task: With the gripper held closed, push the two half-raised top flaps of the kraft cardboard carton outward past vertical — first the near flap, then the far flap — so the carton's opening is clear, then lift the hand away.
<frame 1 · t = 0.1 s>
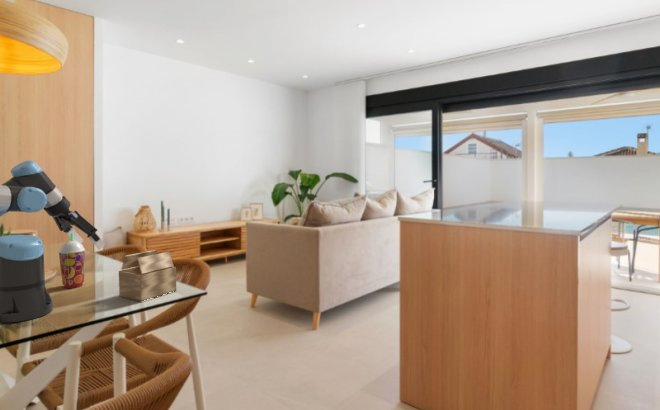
hand: (91, 244, 149), 15 cm above the table, tool tilted 35°, fingers open, 13 cm apart
near flap: (156, 262, 136), point 12 cm above the table, hinge at -25.0°
smoothie: (73, 286, 148), on the table
carton: (148, 293, 139), on the table
far flap: (139, 259, 141), point 12 cm above the table, hinge at -25.0°
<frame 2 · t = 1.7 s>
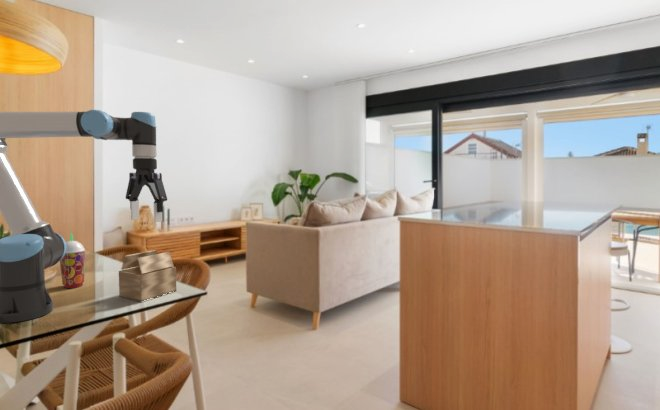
hand: (146, 220, 137), 26 cm above the table, tool pointing down, fingers open, 11 cm apart
nothing on the table moved.
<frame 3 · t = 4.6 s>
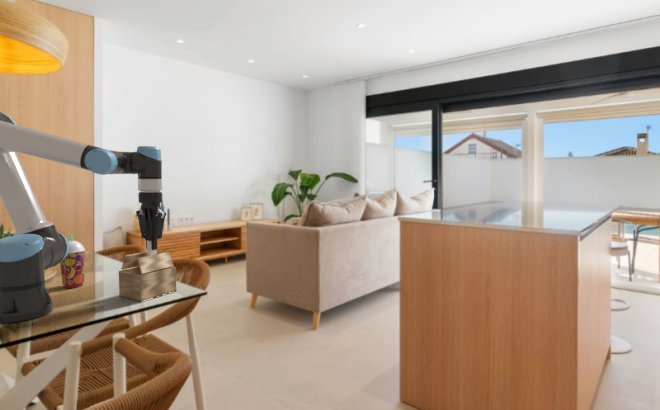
hand: (152, 258, 137), 13 cm above the table, tool pointing down, fingers closed
near flap: (156, 262, 136), point 12 cm above the table, hinge at -24.9°, touching gripper
everything else where it was.
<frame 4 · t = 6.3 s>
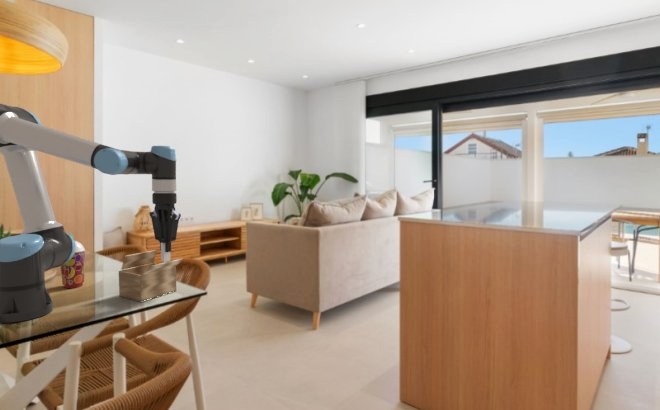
hand: (165, 261, 134), 13 cm above the table, tool pointing down, fingers closed
near flap: (163, 266, 135), point 11 cm above the table, hinge at 51.8°, touching gripper
everything else where it was.
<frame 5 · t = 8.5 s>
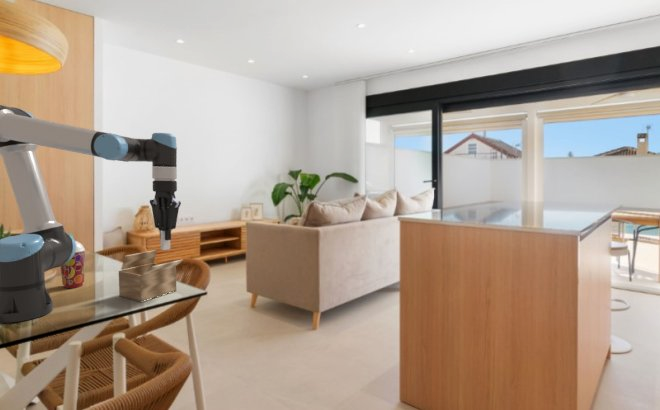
hand: (165, 249, 133), 17 cm above the table, tool pointing down, fingers closed
near flap: (163, 266, 135), point 11 cm above the table, hinge at 55.2°
everything else where it was.
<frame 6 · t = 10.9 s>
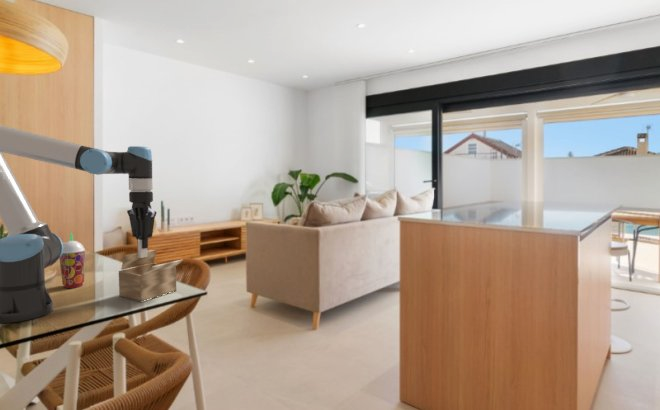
hand: (142, 257, 140), 13 cm above the table, tool pointing down, fingers closed
far flap: (139, 259, 141), point 12 cm above the table, hinge at -22.3°, touching gripper
everything else where it was.
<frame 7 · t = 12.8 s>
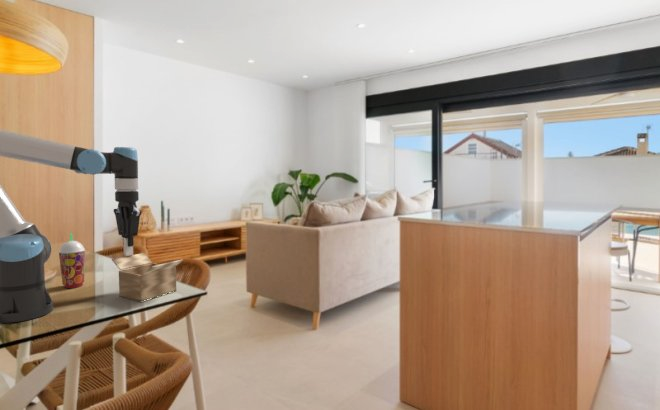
hand: (128, 254, 143), 13 cm above the table, tool pointing down, fingers closed
far flap: (132, 261, 143), point 11 cm above the table, hinge at 55.4°
everything else where it was.
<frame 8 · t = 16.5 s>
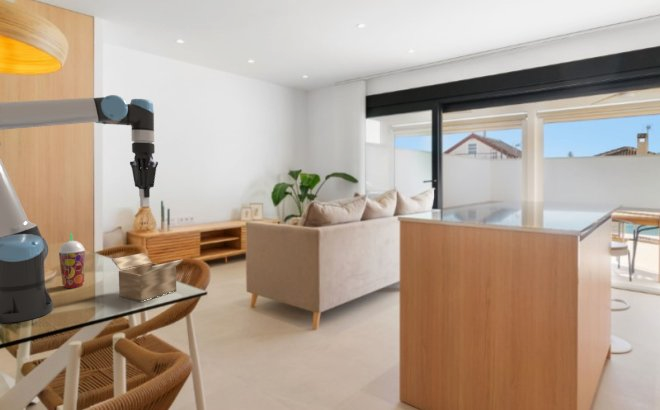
hand: (144, 206, 147), 30 cm above the table, tool pointing down, fingers closed
nothing on the table moved.
at the end: near flap at +55° (first picture: -25°); far flap at +56° (first picture: -25°) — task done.
